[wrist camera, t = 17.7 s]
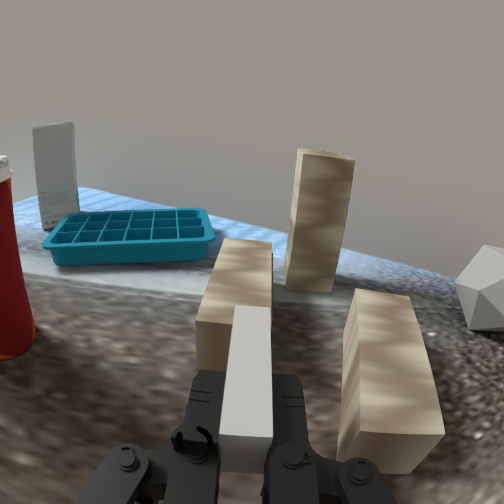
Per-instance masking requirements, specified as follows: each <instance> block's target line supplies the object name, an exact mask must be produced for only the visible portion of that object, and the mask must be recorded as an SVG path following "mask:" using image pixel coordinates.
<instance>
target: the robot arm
mask: <svg viewBox="0 0 504 504" xmlns="http://www.w3.org/2000/svg"><path fill="white" fill-rule="evenodd" d="M171 440H172V445H171V446H168V447H166V448H161V449H153V450H143V449H142V448H140V447H139V446H137V445H134V444H130V443H126V444H119V445H117V446H114V447H113V448H112V449H111V450H110V451H109V452H108V454H107V455H106V457H105V458H104V459H103V461H102V462H101V464H100V465H99V467H98V468H97V470H96V471H95V472H94V474H93V475H92V477H91V478H90V480H89V481H88V483H87V484H86V485H85V487H84V488H83V490H82V491H81V493H80V494H79V496H78V497H77V498H76V500H75V501H74V503H73V504H158V502H159V500H164V502H163V504H217V503H218V493H219V477H220V471H222V472H234V473H249V474H263V473H264V484H263V487H262V490H261V494H260V496H262V504H397V503H396V501H395V500H394V498H393V496H392V494H391V492H390V490H389V488H388V486H387V484H386V482H385V480H384V479H383V477H382V475H381V473H380V471H379V469H378V467H377V466H376V465H375V464H374V463H373V462H372V461H370V460H368V459H366V458H360V457H358V458H351V459H349V460H347V461H346V462H339V461H335V460H330V459H327V458H324V457H321V456H320V455H318V454H317V453H316V452H315V451H314V450H313V449H312V448H311V446H310V443H309V440H308V430H307V421H306V412H305V403H304V394H303V386H302V384H301V383H300V381H299V380H298V378H297V376H296V375H273V374H272V369H271V333H270V307H257V306H244V305H235V310H234V318H233V326H232V333H231V341H230V349H229V357H228V365H227V372H221V371H211V370H200V372H199V373H198V374H197V375H196V376H195V378H194V379H193V383H192V388H191V392H190V396H189V401H188V405H187V410H186V414H185V419H184V424H183V425H180V426H179V427H178V428H177V429H175V430H174V432H173V434H172V436H171Z"/></svg>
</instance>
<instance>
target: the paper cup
mask: <svg viewBox="0 0 504 504" xmlns="http://www.w3.org/2000/svg"><path fill="white" fill-rule="evenodd" d="M13 175H14V172H13V170H12V169H10V167H9V162H8V159H7V157H6V156H0V360H8V359H12V358H15V357H17V356H19V355H21V354H22V353H24V352H25V351H26V350H27V349H28V348H29V347H30V346H31V345H32V343H33V342H34V340H35V337H36V328H35V324H34V320H33V316H32V312H31V308H30V304H29V300H28V295H27V291H26V287H25V282H24V277H23V272H22V267H21V262H20V256H19V251H18V244H17V238H16V231H15V223H14V214H13V204H12V192H11V177H12V176H13Z"/></svg>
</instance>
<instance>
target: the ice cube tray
mask: <svg viewBox="0 0 504 504" xmlns="http://www.w3.org/2000/svg"><path fill="white" fill-rule="evenodd" d="M213 240H215V234H214V231H213V228H212V226H211V223H210V220H209V218H208V215H207V212H206V210H204V209H199V208H178V209H148V210H124V211H105V212H87V213H73V214H69V215H67V216H65V217H64V218H63V219H62V220H61V221H60V222H59V224H58V225H57V226H56V227H55V228H54V229H53V231H52V232H51V233H50V234H49V235H48V237H47V238H46V239H45V240H44V242H43V243H42V246H43V249H46V250H50V251H51V254H52V258H53V261H54V263H55V264H56V265H60V266H64V265H90V264H116V263H142V262H166V261H190V260H199V259H203V258H205V257H206V255H207V246H208V242H212V241H213Z"/></svg>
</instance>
